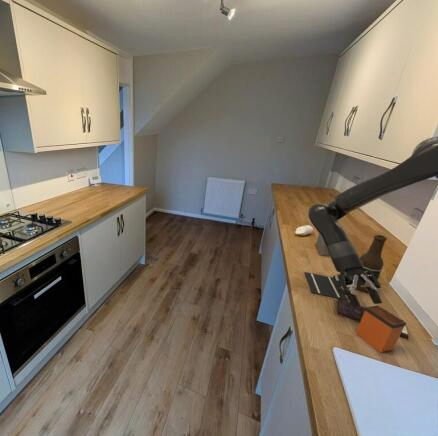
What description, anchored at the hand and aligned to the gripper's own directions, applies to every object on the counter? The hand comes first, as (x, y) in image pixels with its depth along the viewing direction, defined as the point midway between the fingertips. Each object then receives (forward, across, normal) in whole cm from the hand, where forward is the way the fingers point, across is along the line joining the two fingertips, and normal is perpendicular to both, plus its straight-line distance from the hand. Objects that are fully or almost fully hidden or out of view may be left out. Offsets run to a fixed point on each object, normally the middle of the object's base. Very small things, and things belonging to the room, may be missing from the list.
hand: (367, 305), depth 76 cm
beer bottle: (-6, +24, +20) cm, 32 cm away
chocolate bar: (+5, +9, +10) cm, 14 cm away
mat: (-9, +10, +23) cm, 26 cm away
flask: (-28, +39, +42) cm, 63 cm away
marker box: (+10, 0, +4) cm, 11 cm away
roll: (-46, +43, +52) cm, 81 cm away
